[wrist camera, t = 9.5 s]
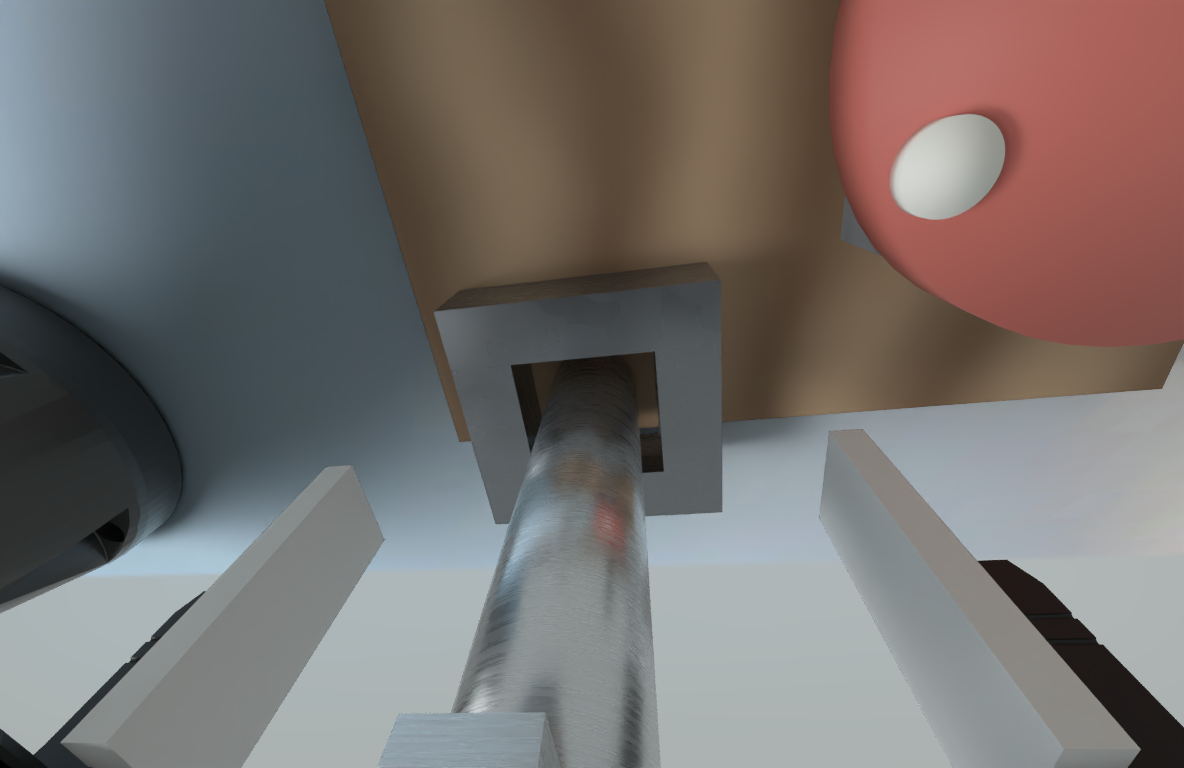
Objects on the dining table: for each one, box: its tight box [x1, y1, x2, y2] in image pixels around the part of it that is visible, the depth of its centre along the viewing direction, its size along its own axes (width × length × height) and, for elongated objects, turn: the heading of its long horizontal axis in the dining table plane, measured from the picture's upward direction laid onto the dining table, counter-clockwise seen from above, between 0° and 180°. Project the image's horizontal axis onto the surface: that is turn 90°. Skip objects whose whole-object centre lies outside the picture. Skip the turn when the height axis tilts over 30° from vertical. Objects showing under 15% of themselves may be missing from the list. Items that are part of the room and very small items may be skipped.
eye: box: [434, 262, 722, 524], centre depth 16 cm, size 9×9×2 cm
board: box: [324, 0, 1184, 442], centre depth 13 cm, size 26×16×4 cm, turn 97°
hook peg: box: [377, 355, 661, 768], centre depth 11 cm, size 3×5×15 cm, turn 8°
